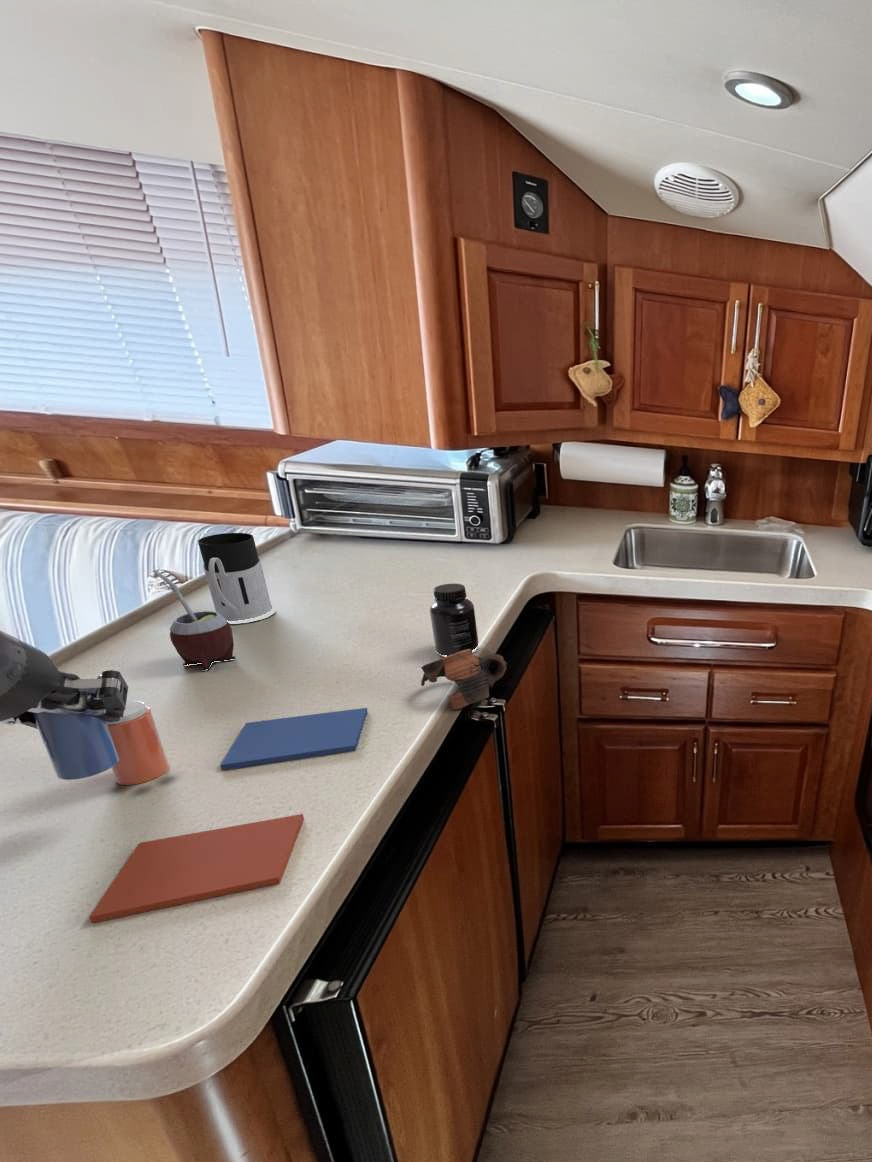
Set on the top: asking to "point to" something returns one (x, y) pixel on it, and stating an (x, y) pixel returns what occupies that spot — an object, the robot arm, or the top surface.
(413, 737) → the top surface
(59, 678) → the robot arm
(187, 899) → the terracotta mat
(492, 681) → the pottery mug
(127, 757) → the cylinder
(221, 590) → the grey coffee mug
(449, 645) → the supplement bottle
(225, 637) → the mate gourd
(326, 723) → the blue mat
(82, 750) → the cylinder
